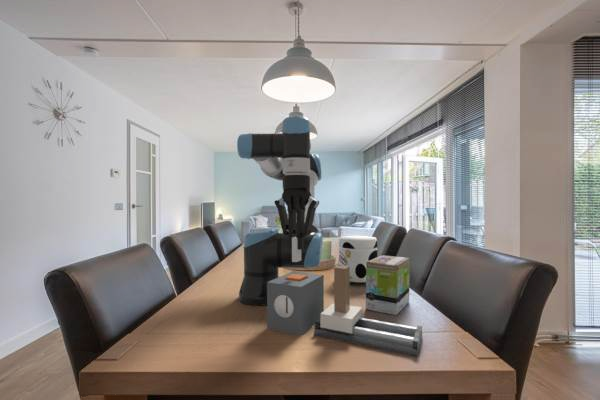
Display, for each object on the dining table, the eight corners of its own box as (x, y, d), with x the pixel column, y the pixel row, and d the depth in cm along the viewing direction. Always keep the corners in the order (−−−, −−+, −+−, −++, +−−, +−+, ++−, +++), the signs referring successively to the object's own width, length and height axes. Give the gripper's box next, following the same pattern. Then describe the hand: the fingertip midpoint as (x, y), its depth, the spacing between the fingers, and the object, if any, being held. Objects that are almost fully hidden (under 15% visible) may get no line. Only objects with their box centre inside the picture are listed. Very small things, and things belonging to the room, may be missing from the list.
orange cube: (286, 292, 83) (286, 277, 83) (293, 288, 87) (293, 273, 87) (300, 294, 82) (300, 278, 82) (307, 290, 85) (306, 275, 85)
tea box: (398, 316, 89) (398, 264, 89) (364, 309, 94) (364, 261, 94) (410, 301, 101) (410, 256, 101) (380, 296, 107) (379, 253, 107)
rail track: (314, 334, 76) (314, 322, 76) (329, 320, 85) (329, 309, 85) (417, 356, 65) (417, 342, 65) (422, 338, 74) (422, 325, 74)
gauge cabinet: (266, 328, 80) (266, 282, 80) (293, 311, 93) (292, 271, 93) (300, 336, 76) (300, 287, 76) (323, 316, 88) (323, 274, 88)
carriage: (320, 327, 76) (320, 269, 76) (333, 314, 84) (333, 262, 84) (351, 333, 72) (351, 272, 73) (362, 319, 81) (362, 265, 81)
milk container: (328, 281, 127) (327, 237, 127) (354, 274, 139) (353, 234, 139) (362, 290, 115) (362, 241, 115) (388, 281, 126) (388, 237, 126)
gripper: (268, 174, 84) (269, 261, 84) (312, 172, 78) (312, 266, 78) (282, 176, 91) (283, 256, 91) (323, 174, 85) (323, 260, 85)
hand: (296, 260), depth 85 cm, fingers closed
